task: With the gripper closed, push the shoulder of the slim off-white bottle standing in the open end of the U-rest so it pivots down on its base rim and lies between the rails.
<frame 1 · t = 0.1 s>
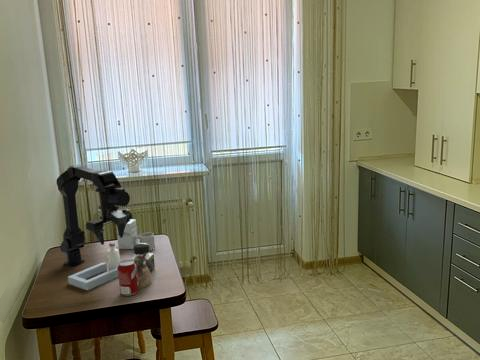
hand: (112, 241, 192), 15 cm above the table, fingers open, 9 cm apart
figurine: (142, 284, 186), on the table
mug: (144, 248, 225), on the table
medicine bottle: (143, 272, 197), on the table
soda can: (129, 293, 178), on the table
white bottle: (115, 270, 200), on the table
supplement box: (128, 247, 228), on the table
u rest: (97, 278, 193), on the table
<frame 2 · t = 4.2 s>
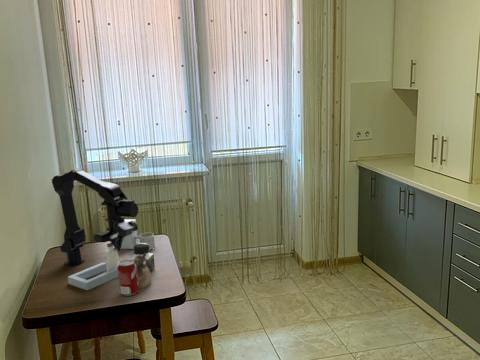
hand: (118, 251, 200), 8 cm above the table, fingers closed
white bottle: (115, 270, 200), on the table, touching gripper
everything else where it was.
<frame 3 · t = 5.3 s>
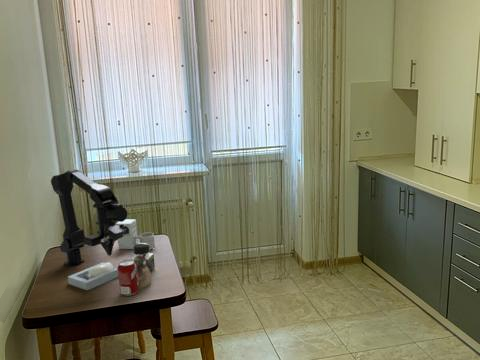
hand: (109, 255, 197), 7 cm above the table, fingers closed
white bottle: (109, 267, 197), point 2 cm above the table, tilted 90°
everything else where it was.
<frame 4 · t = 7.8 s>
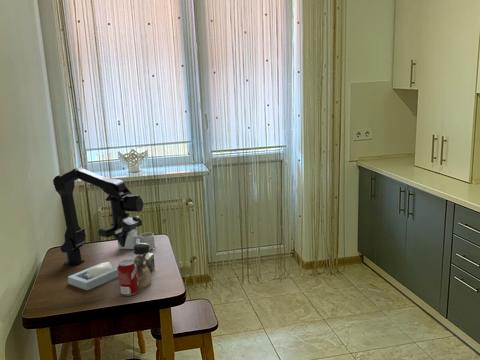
hand: (122, 246, 202), 9 cm above the table, fingers closed
nothing on the table moved.
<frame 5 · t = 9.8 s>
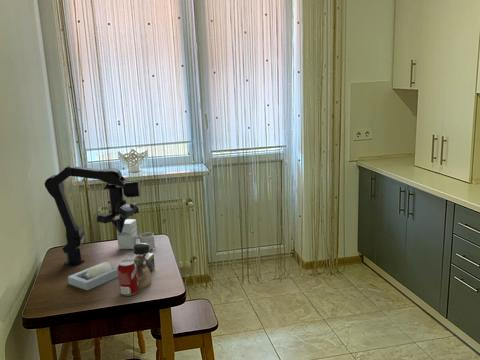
hand: (120, 232, 211), 12 cm above the table, fingers closed
at the end: white bottle tilted 90°; white bottle inside the target area (2.3 cm from its centre), point 2.3 cm above the table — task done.
